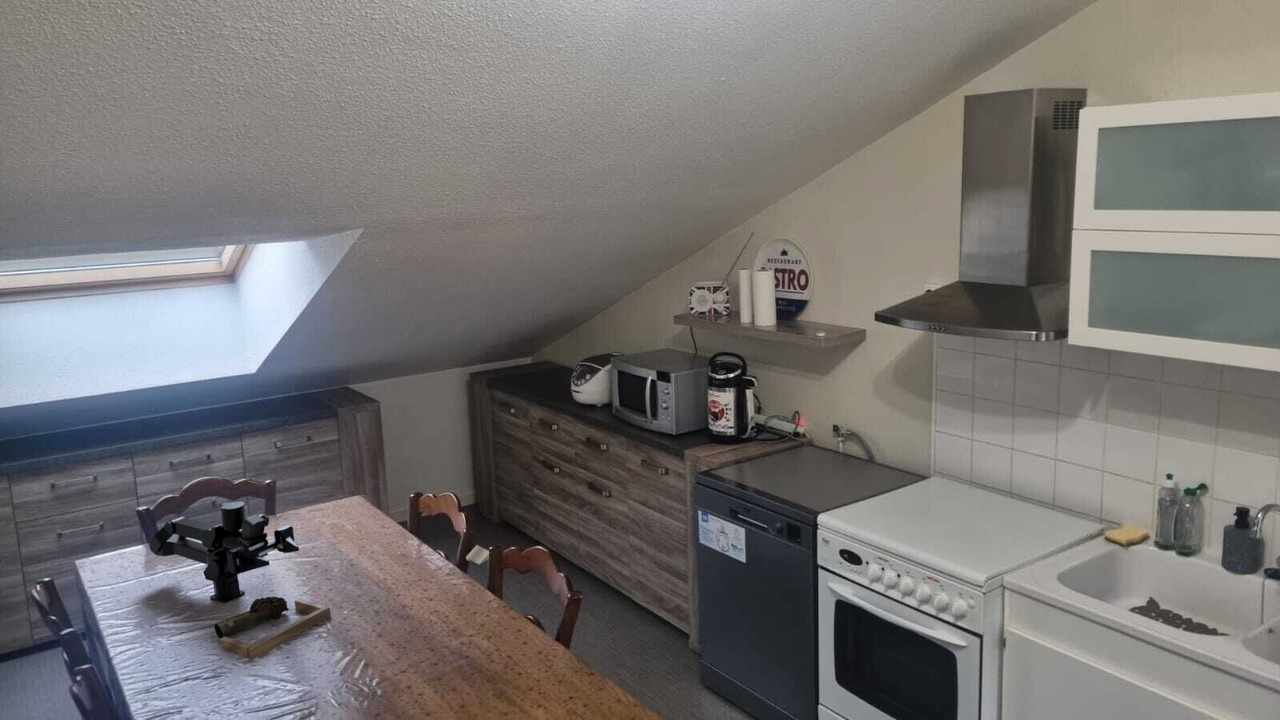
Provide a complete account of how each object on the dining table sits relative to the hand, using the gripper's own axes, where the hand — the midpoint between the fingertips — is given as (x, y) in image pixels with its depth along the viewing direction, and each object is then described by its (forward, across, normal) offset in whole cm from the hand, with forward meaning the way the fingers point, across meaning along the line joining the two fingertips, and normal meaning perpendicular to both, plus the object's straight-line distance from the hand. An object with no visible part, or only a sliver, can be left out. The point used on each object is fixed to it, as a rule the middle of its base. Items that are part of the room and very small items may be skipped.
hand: (283, 555), depth 241 cm
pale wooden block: (+21, +50, +20) cm, 58 cm away
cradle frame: (+5, -8, +16) cm, 19 cm away
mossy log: (-4, -8, +17) cm, 19 cm away
